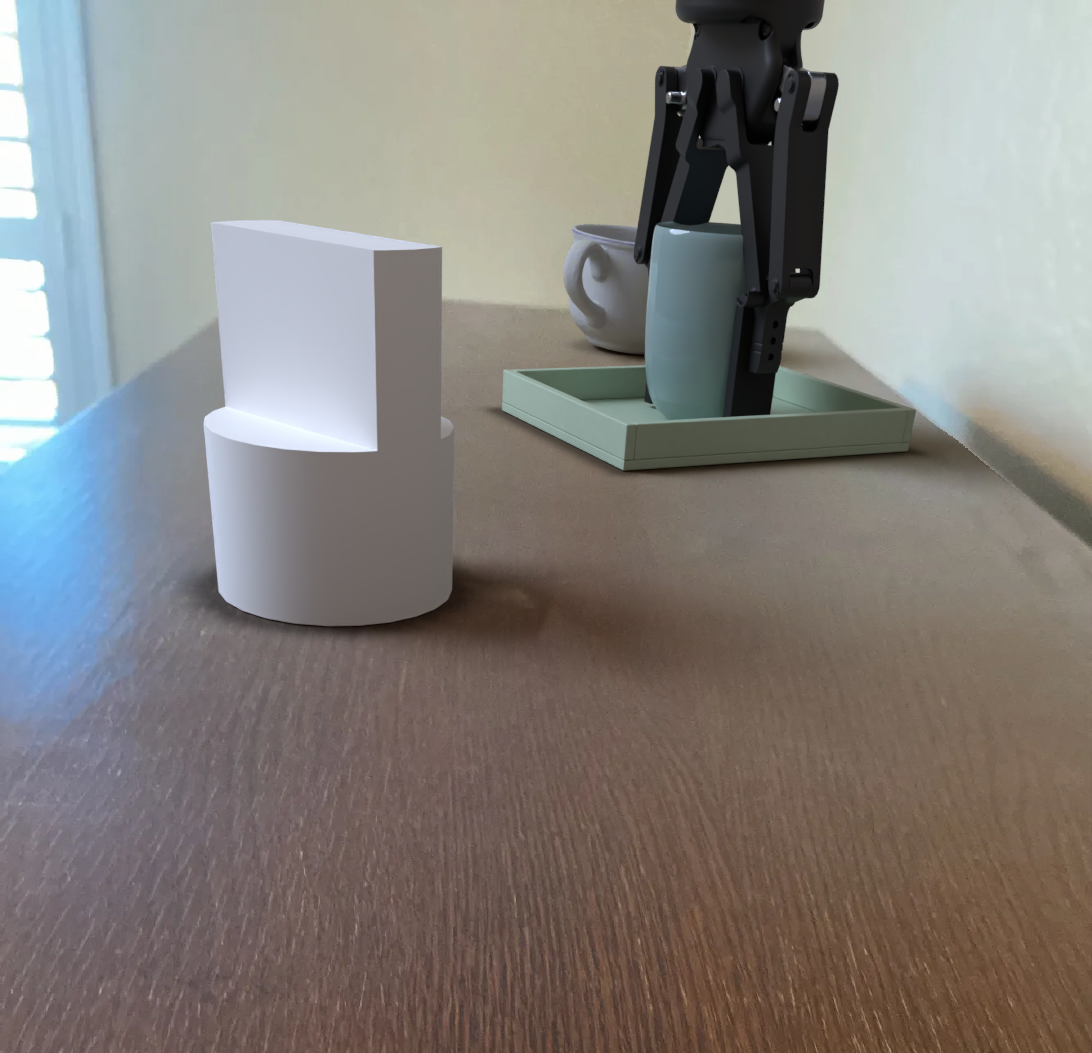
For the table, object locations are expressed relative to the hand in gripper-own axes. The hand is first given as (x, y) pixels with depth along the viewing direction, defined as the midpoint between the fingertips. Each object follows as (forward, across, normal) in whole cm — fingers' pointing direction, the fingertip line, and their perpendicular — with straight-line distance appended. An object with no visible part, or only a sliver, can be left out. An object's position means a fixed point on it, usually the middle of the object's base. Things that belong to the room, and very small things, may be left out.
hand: (703, 416), depth 77 cm
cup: (0, 0, 0) cm, 0 cm away
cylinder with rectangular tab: (+1, +21, -30) cm, 37 cm away
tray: (+1, 0, 0) cm, 1 cm away
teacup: (+1, -26, +9) cm, 28 cm away
